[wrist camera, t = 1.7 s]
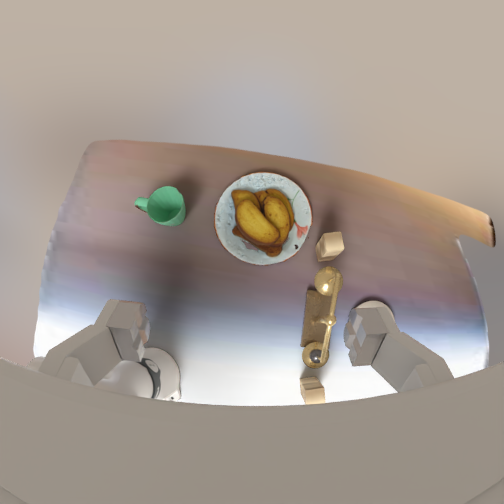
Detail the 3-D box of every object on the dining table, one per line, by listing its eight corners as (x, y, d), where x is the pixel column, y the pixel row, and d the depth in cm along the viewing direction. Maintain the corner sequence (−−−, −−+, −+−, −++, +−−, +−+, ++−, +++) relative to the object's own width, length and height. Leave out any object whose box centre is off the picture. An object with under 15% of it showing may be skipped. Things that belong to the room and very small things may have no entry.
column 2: (332, 259, 71) (344, 249, 60) (317, 261, 71) (326, 251, 60) (330, 244, 72) (340, 231, 60) (315, 246, 72) (323, 233, 61)
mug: (197, 203, 77) (187, 188, 67) (188, 237, 75) (176, 225, 65) (151, 197, 79) (137, 182, 69) (141, 228, 76) (126, 217, 67)
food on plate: (319, 191, 76) (323, 180, 70) (297, 277, 71) (300, 273, 65) (232, 168, 79) (229, 157, 73) (203, 250, 74) (197, 243, 68)
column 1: (316, 390, 64) (325, 404, 52) (301, 393, 64) (306, 407, 52) (315, 376, 65) (324, 387, 53) (299, 378, 65) (305, 390, 53)
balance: (324, 366, 65) (343, 382, 47) (297, 364, 66) (307, 380, 48) (335, 274, 70) (356, 260, 52) (309, 271, 71) (322, 256, 53)
